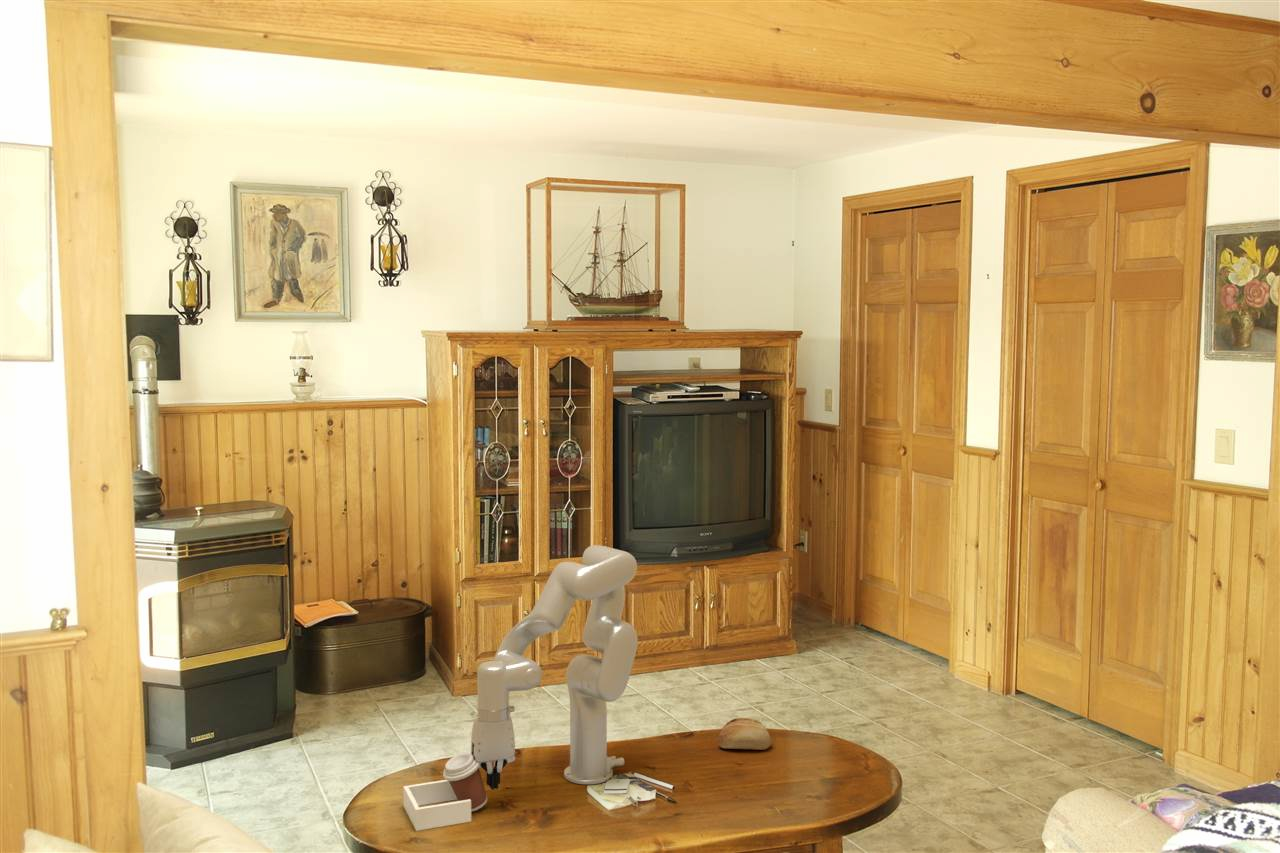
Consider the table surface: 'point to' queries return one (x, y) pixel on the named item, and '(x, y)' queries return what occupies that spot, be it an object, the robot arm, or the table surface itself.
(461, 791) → the coffee cup
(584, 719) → the robot arm
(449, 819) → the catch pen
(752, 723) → the bread roll
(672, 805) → the table surface
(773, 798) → the table surface
